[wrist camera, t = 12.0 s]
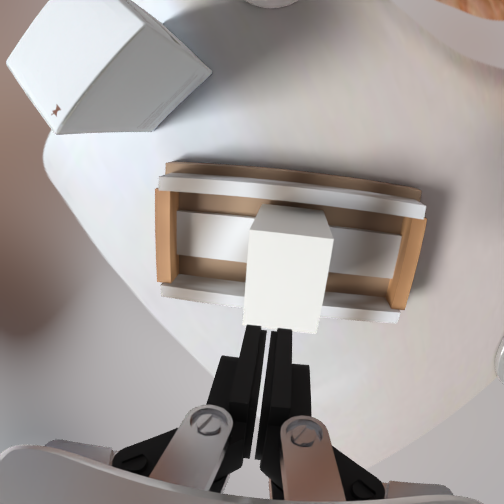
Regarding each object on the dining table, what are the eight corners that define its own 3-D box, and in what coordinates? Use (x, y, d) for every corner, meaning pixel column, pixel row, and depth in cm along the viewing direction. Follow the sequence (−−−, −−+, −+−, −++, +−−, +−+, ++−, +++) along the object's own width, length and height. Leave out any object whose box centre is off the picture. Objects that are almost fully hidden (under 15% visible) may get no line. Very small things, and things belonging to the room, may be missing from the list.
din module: (323, 210, 23) (333, 239, 17) (312, 286, 26) (316, 336, 19) (262, 203, 24) (249, 229, 17) (255, 279, 26) (242, 327, 19)
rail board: (415, 187, 24) (434, 196, 20) (389, 307, 28) (400, 331, 24) (172, 161, 26) (152, 166, 22) (172, 282, 29) (156, 303, 26)
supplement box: (216, 73, 23) (150, 24, 11) (151, 134, 25) (52, 140, 13) (162, 20, 21) (79, -37, 10) (104, 80, 24) (0, 64, 12)
